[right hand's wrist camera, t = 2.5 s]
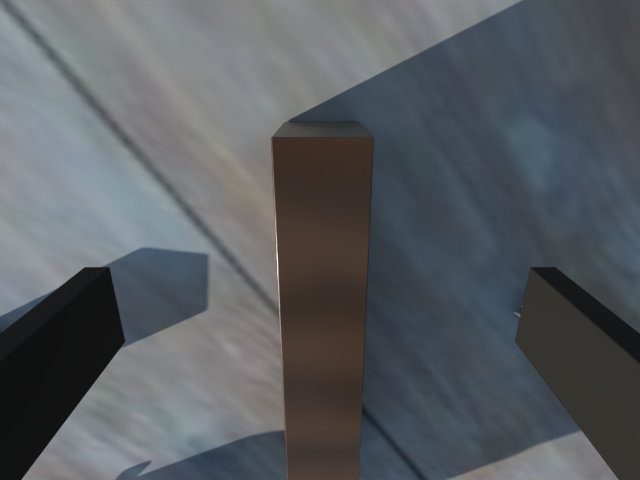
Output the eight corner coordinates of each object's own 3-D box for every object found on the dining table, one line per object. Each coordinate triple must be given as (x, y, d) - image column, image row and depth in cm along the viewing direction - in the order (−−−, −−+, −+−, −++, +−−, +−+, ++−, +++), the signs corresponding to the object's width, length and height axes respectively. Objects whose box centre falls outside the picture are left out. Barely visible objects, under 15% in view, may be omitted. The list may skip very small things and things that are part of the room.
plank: (284, 121, 27) (270, 137, 19) (359, 121, 27) (374, 136, 19) (295, 451, 38) (290, 542, 30) (348, 451, 38) (355, 541, 30)
